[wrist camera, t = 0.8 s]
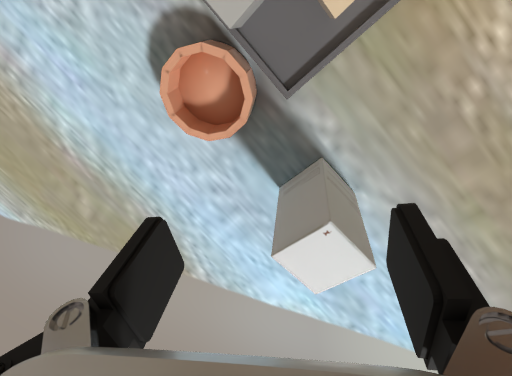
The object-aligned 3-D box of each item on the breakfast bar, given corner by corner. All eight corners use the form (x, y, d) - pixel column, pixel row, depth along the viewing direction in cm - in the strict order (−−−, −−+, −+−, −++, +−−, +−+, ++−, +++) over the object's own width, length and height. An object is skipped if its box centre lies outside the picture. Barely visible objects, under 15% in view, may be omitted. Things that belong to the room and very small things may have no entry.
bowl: (210, 18, 27) (199, 18, 24) (273, 92, 30) (270, 100, 27) (158, 84, 32) (143, 92, 29) (217, 143, 35) (209, 155, 32)
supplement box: (277, 187, 37) (267, 255, 26) (322, 155, 33) (331, 219, 23) (311, 221, 39) (314, 297, 29) (357, 194, 36) (379, 269, 25)
